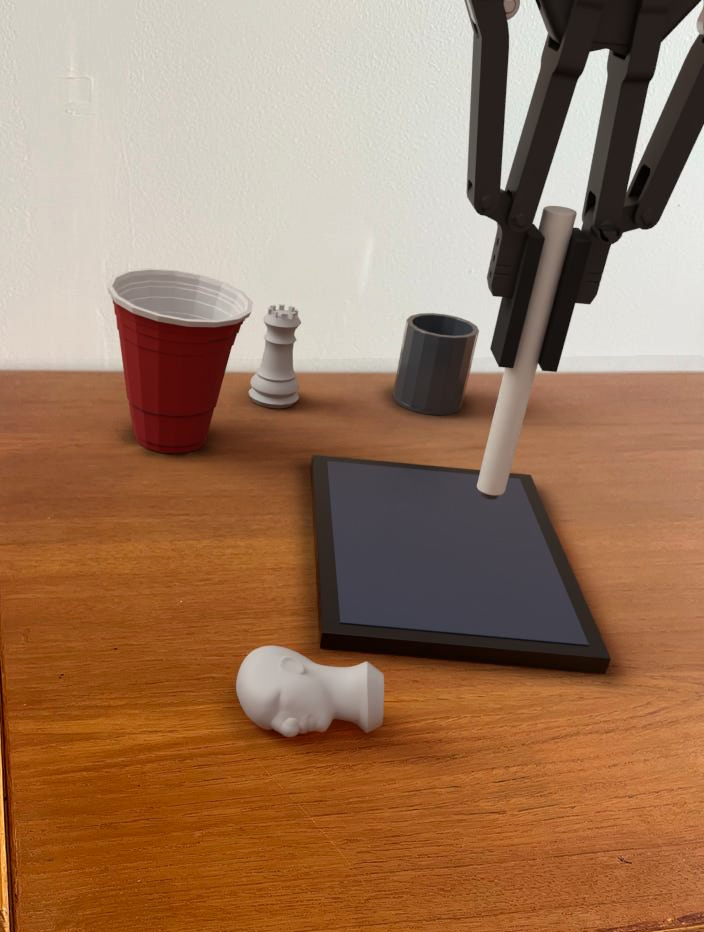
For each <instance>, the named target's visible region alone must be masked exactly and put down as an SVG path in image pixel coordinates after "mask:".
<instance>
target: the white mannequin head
mask: <svg viewBox="0 0 704 932" xmlns="http://www.w3.org/2000/svg"><path fill="white" fill-rule="evenodd" d="M238 669H239V670H238V672H237V676H236V683H235V690H236V695H237V698H238V701H239V704H240V707H241V708H242V710H243V712H244V714H245V715H246V717H248V718H249V719H250V720H251V721H252V722H253V723H254V724H255V725H256V726H258V727H259V728H261V729H262V730H267V731H270V730H271V731H272V730H274V731H276V732H278V733H279V734H281V735H282V736H284V737H286V738H294V737H295V736H297V735H298V734H307V732H309V733H310V732H319V733H324V732H326V731H327V730H328V729H329V727H330V725H331V723H332V722H333V720H341V721H345V722H350V723H353V724H355V725H357V727H359V728H360V729H361V730H362V731H363V732H364V733H370V732H372V731H374V730H376V729H378V728H381V727H382V726H383V721H384V710H385V675H384V673H383V672H382V671H381V670H379V669H378V668H376V667H375V666H374V665H373V664H371V663H370V662H368V661H364V662H361V663H359V664H356V665H352V666H332V665H331V666H330V665H323V664H319V663H317V662H314V661H312V660H311V659H309V658H308V657H306V656H304V655H303V654H301V653H299V652H297V651H295V650H292V649H290V648H288V647H284V646H280V645H264V646H263V645H262V646H260V647H257V648H255V649H253V650H252V651H251V652H250V653H248V655H246V657H245V658H244V659H243V660H242V663H241V665H240V667H239V668H238Z"/></svg>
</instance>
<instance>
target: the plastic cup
mask: <svg viewBox="0 0 704 932" xmlns="http://www.w3.org/2000/svg"><path fill="white" fill-rule="evenodd" d="M106 287H107V292H108V294H109V295H110V297H111V300H112V304H113V309H114V311H113V312H114V315H115V318H116V319H115V320H116V329H117V331H118V336H119V347H120V353H121V361H122V369H123V375H124V377H123V378H124V384H125V392H126V393H125V394H126V399H127V400H128V406H129V413H130V421H131V428H132V432H133V434H134V438H135V440H136V441H137V443H138V444H139V445H141V447H144V448H146V449H147V450H151V451H154V452H158V453H166V454H185V453H190V452H193V451H197V450H199V449H200V448H202V447H203V446H204V445H205V442H206V439H207V438H208V435H209V431H210V427H211V424H212V423H211V422H212V420H213V416H214V411H215V408H216V407H217V404H218V400H219V396H220V393H221V389H222V385H223V381H224V377H225V373H226V371H227V367H228V366H227V365H228V363H229V360H230V355H231V351H232V347H233V346H235V345H234V344H235V341H236V339H237V335H238V334H239V332H240V330H241V327H242V325H243V323H244V322H245V321H246V320H247V319H248V318H250V315H251V314H252V311H253V300H252V299H250V297H249V296H248V295H247V294H246V293H245V292H244V291H243V290H240V289H239V288H237V287H235V286H233V285H231V284H229V283H227V282H225V281H223V280H219V279H216V278H212V277H210V276H207V275H204V274H200V273H194V272H189V271H183V270H178V269H167V268H166V269H165V268H139V269H138V268H137V269H129V270H125V271H123V272H120V273H116V274H115V275H112V276H111V277H110V280H109V281H108V283H107V285H106Z"/></svg>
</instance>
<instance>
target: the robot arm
mask: <svg viewBox="0 0 704 932" xmlns="http://www.w3.org/2000/svg"><path fill="white" fill-rule="evenodd" d="M701 2H702V4H703V5H702V9H701V11H700V13H699V15H698V17H697V20H696V30H697V32H698V33H699V34H698V35H697V36H696V38H695V39H694V42H693V43H692V45H691V46H690V48H689V50H688V52H687V54H686V56H685V59H684V60H683V63H682V65H681V66H680V67H681V68H680V70H679V72H678V73H677V74H678V75H677V76H676V78H675V81H674V83H673V86H672V88H671V90H670V92H669V94H668V97H667V99H666V101H665V104H664V106H663V108H662V111H661V113H660V115H659V118H658V120H657V122H656V124H655V127H654V129H653V131H652V133H651V135H650V138H649V140H648V142H647V144H646V146H645V150H644V152H643V153H642V156H641V158H640V161H639V163H638V166H637V168H636V170H635V172H634V174H633V177H632V179H631V182H630V177H631V172H632V168H633V163H634V159H635V155H636V149H637V144H638V139H639V134H640V130H641V124H642V119H643V115H644V109H645V105H646V99H647V95H648V91H649V87H650V86H649V85H650V83H651V81H652V80H653V79H654V76H655V73H656V70H657V65H658V60H659V55H660V51H661V46H662V43H663V42H664V40H666V38H668V36H669V35H670V34H672V32H673V31H674V30H675V29H676V28H677V27H678V26H679V25H680V24H681V23H682V22H683V21H684V20H685V19H686V17H688V16H689V14H690V13H691V12H693V10H694V9H695V8H696V7H697V6H698V5H699V4H700V3H701ZM535 3H536V6H537V9H538V11H539V14H540V17H541V19H542V21H543V24H544V27H545V29H546V32H547V35H546V39H545V42H544V45H543V50H542V53H541V57H540V67H539V72H538V74H537V79H536V81H535V86H534V88H533V92H532V95H531V99H530V103H529V106H528V110H527V113H526V115H525V120H524V122H523V126H522V129H521V133H520V136H519V139H518V140H519V141H518V143H517V148H516V150H515V153H514V156H513V160H512V164H511V167H510V170H509V175H508V177H507V180H506V184H505V188H504V189H502V188H501V184H502V171H503V169H502V168H503V154H504V152H503V151H504V136H505V121H506V107H507V106H506V103H507V91H508V90H507V89H508V73H509V72H508V71H509V54H510V31H509V30H510V29H509V22H508V21H509V20H511V19H512V18H514V17H515V15H516V14H517V13H518V11H519V9H520V5H521V0H464V4H465V7H466V11H467V15H468V18H469V21H470V25H471V29H472V32H473V38H472V56H471V57H472V58H471V80H470V100H469V101H470V102H469V103H470V104H469V105H470V106H469V125H468V127H469V128H468V148H467V149H468V151H467V169H466V170H467V173H466V198H467V200H468V201H469V203H470V204H471V206H472V208H473V209H474V210H475V212H476V213H477V214H478V215H480V216H482V217H483V216H484V217H487V218H488V219H490V220H493V221H494V222H496V226H497V228H496V233H495V238H494V243H493V247H492V251H491V256H490V259H489V260H490V261H489V267H488V270H487V275H486V282H487V286H488V290H489V292H490V293H491V296H492V297H497V298H501V300H500V305H499V308H498V312H497V318H496V322H495V326H494V330H493V335H492V339H491V343H490V348H489V349H490V352H491V353H492V355H493V358H494V361H495V362H496V364H497V366H498V368H504V369H505V368H513V367H514V363H515V359H516V355H517V351H518V347H519V343H520V339H521V335H522V330H523V326H524V322H525V318H526V314H527V310H528V306H529V302H530V298H531V294H532V290H533V286H534V281H535V277H536V273H537V269H538V265H539V261H540V257H541V253H542V249H543V245H544V241H545V237H544V236H543V235H542V234H541V232H539V231H538V229H539V228H538V227H537V226H536V224H535V223H534V221H535V219H536V214H537V212H538V209H539V205H540V202H541V198H542V196H543V193H544V189H545V186H546V183H547V180H548V176H549V173H550V169H551V167H552V163H553V162H554V161H553V160H554V157H555V153H556V150H557V148H558V145H559V141H560V139H561V135H562V132H563V128H564V125H565V122H566V120H567V119H566V118H567V115H568V113H569V109H570V105H571V103H572V101H573V97H574V94H575V90H576V87H577V84H578V81H579V79H580V77H581V76H582V75H583V73H584V71H585V68H586V65H587V62H588V58H589V56H590V53H592V52H596V51H597V52H598V51H601V50H602V51H603V50H608V56H607V62H606V72H607V73H606V74H607V76H606V82H605V87H604V94H603V99H602V104H601V111H600V116H599V120H598V126H597V132H596V136H595V143H594V148H593V153H592V159H591V164H590V168H589V175H588V180H587V185H586V191H585V196H584V202H583V207H582V212H581V222H582V225H581V228H579V227H574V226H573V230H572V234H571V238H570V242H569V245H568V249H567V253H566V257H565V261H564V265H563V269H562V272H561V276H560V280H559V284H558V288H557V292H556V296H555V300H554V303H553V307H552V311H551V315H550V319H549V323H548V327H547V330H546V334H545V338H544V342H543V346H542V350H541V354H540V358H539V361H538V366H539V367H540V370H541V371H542V372H550V373H551V372H552V373H557V372H558V369H559V366H560V361H561V357H562V355H563V354H562V353H563V351H564V347H565V344H566V340H567V335H568V332H569V328H570V325H571V322H572V321H571V320H572V317H573V314H574V310H575V306H576V304H580V305H581V304H582V305H591V304H592V302H593V301H594V300H595V298H596V297H597V295H598V292H599V289H600V285H601V282H602V278H603V275H604V271H605V267H606V265H607V260H608V257H609V253H610V249H611V246H612V245H614V244H615V243H617V242H619V240H620V239H621V238H622V237H623V235H624V233H627V232H632V231H635V230H639V229H640V230H646V231H647V230H651V229H653V228H654V227H656V226H657V225H658V223H659V221H661V218H662V216H663V214H664V212H665V209H666V207H667V205H668V203H669V200H670V199H671V197H672V195H673V192H674V191H675V188H676V186H677V183H678V182H679V180H680V177H681V175H682V173H683V170H684V169H685V166H686V164H687V162H688V160H689V157H690V155H691V153H692V151H693V149H694V147H695V144H696V142H697V141H698V138H699V136H700V134H701V132H702V129H703V127H704V0H535ZM629 182H630V183H629Z"/></svg>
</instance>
